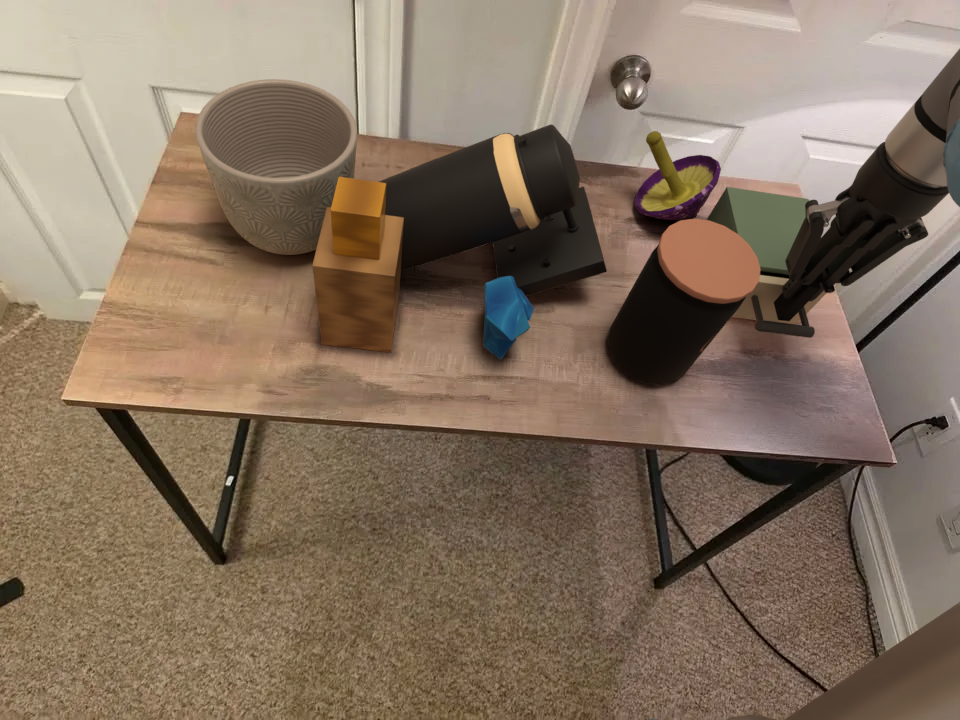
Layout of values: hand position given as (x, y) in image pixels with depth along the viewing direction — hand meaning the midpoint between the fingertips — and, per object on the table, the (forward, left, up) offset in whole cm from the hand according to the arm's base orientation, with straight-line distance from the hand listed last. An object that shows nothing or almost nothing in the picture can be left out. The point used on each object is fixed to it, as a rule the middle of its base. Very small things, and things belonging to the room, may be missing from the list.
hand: (781, 311), depth 78 cm
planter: (+50, +38, -6) cm, 63 cm away
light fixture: (+31, +23, -6) cm, 39 cm away
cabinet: (+7, -7, -6) cm, 12 cm away
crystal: (+21, +29, -5) cm, 36 cm away
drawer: (+4, -4, -5) cm, 7 cm away
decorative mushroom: (+28, -5, +6) cm, 29 cm away
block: (+32, +40, +8) cm, 52 cm away
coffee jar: (+8, +14, -6) cm, 17 cm away
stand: (+32, +40, -6) cm, 52 cm away
